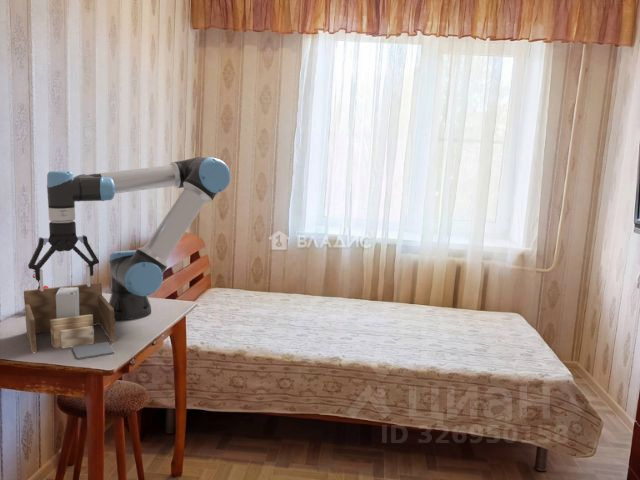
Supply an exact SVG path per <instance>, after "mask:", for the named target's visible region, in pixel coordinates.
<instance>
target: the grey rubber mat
mask: <svg viewBox="0 0 640 480" xmlns="http://www.w3.org/2000/svg"><path fill="white" fill-rule="evenodd" d="M72 351H73V353H74V355H75V357H76V359H77V360H83V359H89V358H95V357H101V356H108V355H114V354H115V351H114V349H113V348H112V346H111V344H110V343H109V342H108V341H105V342H99V343H93V344H87V345H80V346H74V347H72Z"/></svg>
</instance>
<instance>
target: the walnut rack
mask: <svg viewBox="0 0 640 480" xmlns="http://www.w3.org/2000/svg"><path fill="white" fill-rule="evenodd" d="M69 287H78V288H79V311H80V316H83V315H90V314H92V315H93V326H96V325H100V327H101V329H103V331H104V332H105V334H106V335H107V336H108V338H109V340H110V341H112V342H113V341H116V327H115V326H116V323H115V319H114V309H113V308H112V306H111V305H110V304H109V301H108V300H107V299H106V298H105V297H104V296H103V291H102V290H103V289H102V288H103V287H102V283H101V282H93V283H90V287H88V286H87V283H85V284H84V283H83V284H76V285H75V284H74V285H65V286H57V287H48V288H45V289H44V291H41V290H40V289H38V288H37V289H28V290H26V289H25V290H23V300H24V314H25V315H24V316H25V317H24V318H25V326H26V327H25V329H26V330H25V331H26V335H27V339H28V343H29V346H30V347H29V348H30V349H31V350H30V351H31V353H33V352H35V353H37V352H38V351H37V337H36V334H38V333H43V332H51V328H50V320H51V319H57V317H56V293H57V292H58V290H59V288H69Z"/></svg>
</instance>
